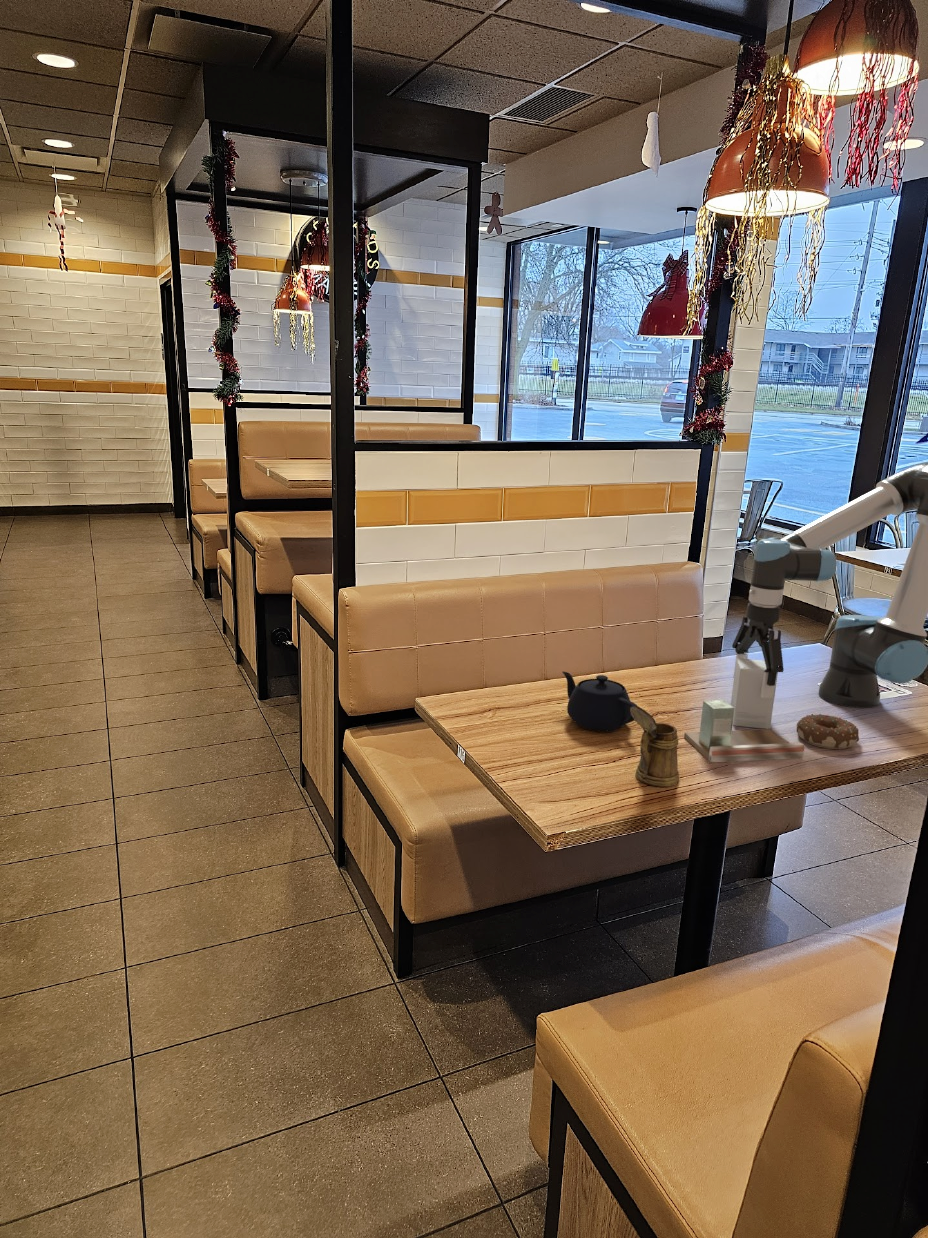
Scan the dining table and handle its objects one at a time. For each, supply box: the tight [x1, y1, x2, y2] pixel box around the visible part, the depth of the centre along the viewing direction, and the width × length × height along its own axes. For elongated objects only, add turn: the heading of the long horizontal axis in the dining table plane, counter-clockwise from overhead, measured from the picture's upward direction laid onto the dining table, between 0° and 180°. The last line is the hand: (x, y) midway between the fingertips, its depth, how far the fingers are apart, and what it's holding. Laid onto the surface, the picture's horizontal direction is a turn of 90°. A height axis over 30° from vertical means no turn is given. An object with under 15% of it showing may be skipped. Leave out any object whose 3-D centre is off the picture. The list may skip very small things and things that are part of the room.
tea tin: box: [699, 699, 734, 751], centre depth 188 cm, size 5×5×10 cm
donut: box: [796, 713, 860, 750], centre depth 197 cm, size 14×14×5 cm
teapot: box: [562, 671, 638, 733], centre depth 202 cm, size 25×16×12 cm, turn 37°
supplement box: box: [730, 658, 779, 729], centre depth 206 cm, size 9×9×15 cm
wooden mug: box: [630, 705, 680, 788], centre depth 171 cm, size 9×14×18 cm, turn 128°
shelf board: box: [683, 728, 806, 763], centre depth 191 cm, size 22×14×3 cm, turn 100°
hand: (752, 687), depth 205 cm, fingers open, 13 cm apart
